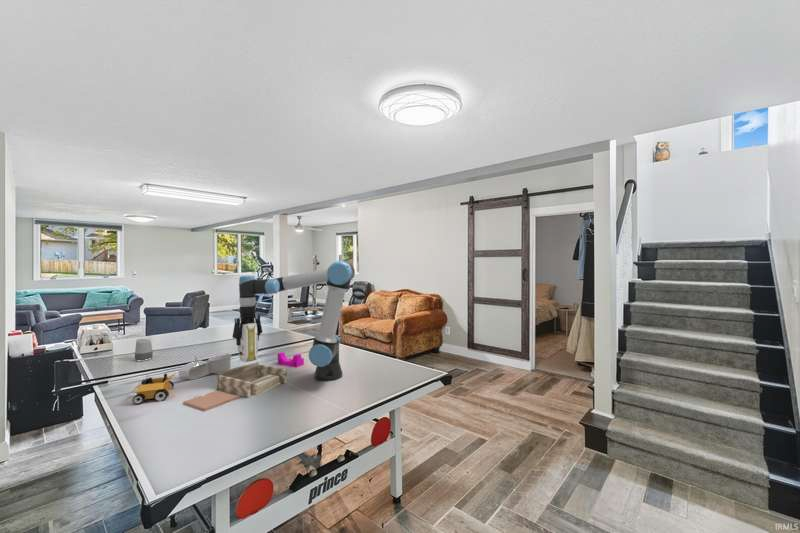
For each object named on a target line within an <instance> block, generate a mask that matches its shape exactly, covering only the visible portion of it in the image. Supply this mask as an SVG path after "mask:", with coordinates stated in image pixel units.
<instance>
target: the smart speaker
mask: <svg viewBox="0 0 800 533" xmlns="http://www.w3.org/2000/svg"><path fill="white" fill-rule="evenodd" d="M149 358H151V359H152V358H153V345H152V339H151V340H150V339H147V338H138V339H136V341H135V351H134V359H135V361H136V360H145V359H149Z"/></svg>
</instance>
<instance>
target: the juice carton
mask: <svg viewBox="0 0 800 533" xmlns="http://www.w3.org/2000/svg"><path fill="white" fill-rule="evenodd" d="M239 328H240V327H239ZM241 339H242V343H243V352H238V356H239V357H238V358H239V360H240V361H241V362H244V363H247V362H253V361H257V360H258V354H259V353H258V348H259V347H258V348H257V324H256V322H255V323H249V324H245V325H243V328H242V337H241Z"/></svg>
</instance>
